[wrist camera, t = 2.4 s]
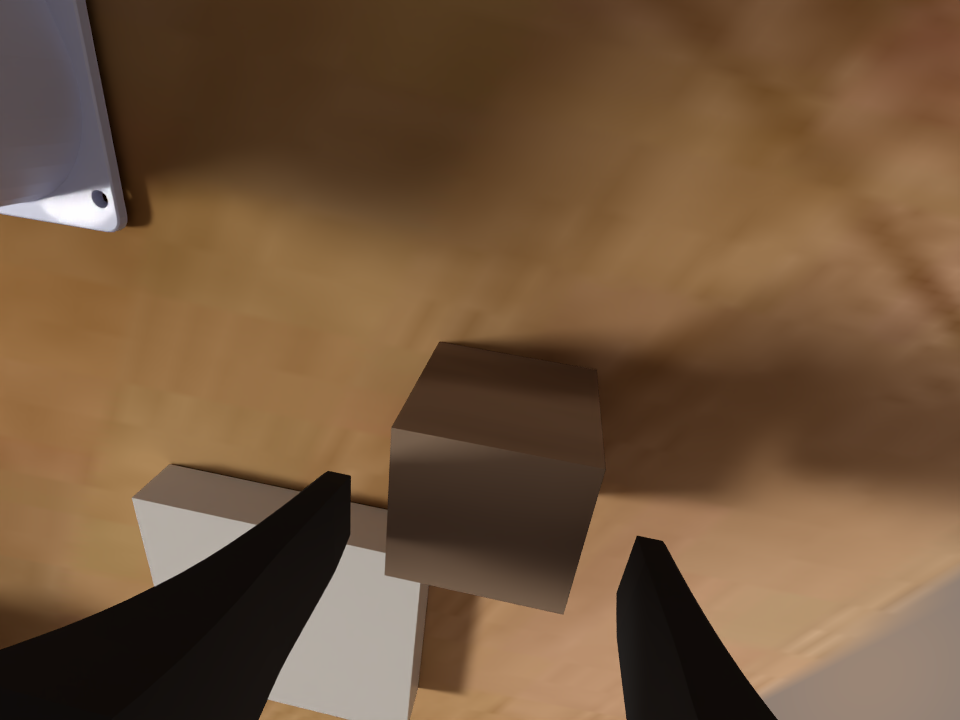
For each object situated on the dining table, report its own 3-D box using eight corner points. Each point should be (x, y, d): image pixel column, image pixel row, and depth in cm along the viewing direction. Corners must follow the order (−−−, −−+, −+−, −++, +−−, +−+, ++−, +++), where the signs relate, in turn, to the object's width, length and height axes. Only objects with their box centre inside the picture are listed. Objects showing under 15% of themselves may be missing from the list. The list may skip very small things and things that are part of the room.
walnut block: (439, 340, 17) (391, 427, 12) (596, 368, 16) (606, 469, 12) (428, 464, 19) (384, 575, 14) (565, 491, 18) (563, 614, 14)
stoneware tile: (169, 464, 21) (131, 497, 19) (435, 520, 20) (422, 560, 18) (204, 637, 26) (177, 676, 24) (417, 689, 25) (406, 733, 23)
